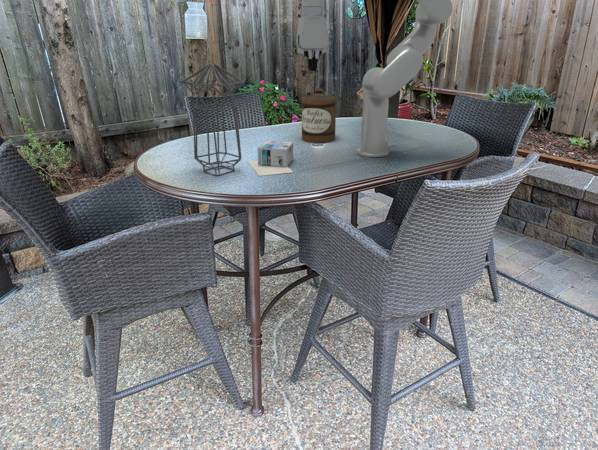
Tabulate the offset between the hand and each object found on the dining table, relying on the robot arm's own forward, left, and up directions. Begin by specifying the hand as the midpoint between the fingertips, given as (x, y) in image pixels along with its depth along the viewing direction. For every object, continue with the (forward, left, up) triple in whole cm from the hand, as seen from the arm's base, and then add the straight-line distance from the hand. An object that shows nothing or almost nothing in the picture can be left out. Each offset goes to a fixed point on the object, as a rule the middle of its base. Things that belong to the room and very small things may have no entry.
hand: (312, 70), depth 152 cm
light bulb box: (+10, +7, -28) cm, 30 cm away
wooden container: (-13, -26, -31) cm, 43 cm away
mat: (+19, +8, -31) cm, 37 cm away
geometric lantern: (+36, +6, -31) cm, 48 cm away
